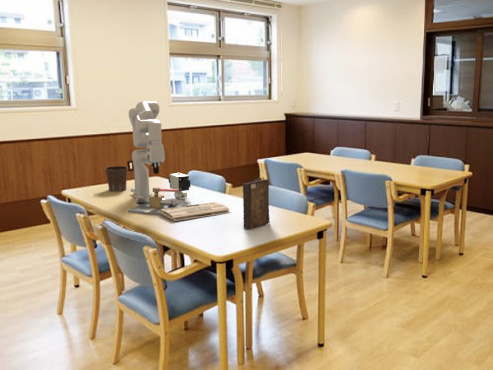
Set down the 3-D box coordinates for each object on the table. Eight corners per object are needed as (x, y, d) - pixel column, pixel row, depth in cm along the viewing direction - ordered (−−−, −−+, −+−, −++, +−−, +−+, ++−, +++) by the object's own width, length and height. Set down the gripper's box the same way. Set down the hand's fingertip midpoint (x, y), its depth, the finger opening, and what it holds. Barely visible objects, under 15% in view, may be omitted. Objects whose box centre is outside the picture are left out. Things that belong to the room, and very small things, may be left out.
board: (126, 212, 288) (126, 210, 288) (148, 203, 311) (148, 200, 311) (166, 216, 280) (165, 213, 279) (185, 206, 303) (185, 203, 302)
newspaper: (214, 205, 302) (214, 200, 302) (230, 212, 287) (231, 208, 286) (159, 212, 282) (159, 208, 281) (174, 221, 266) (174, 216, 266)
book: (248, 230, 251) (248, 183, 246) (239, 227, 256) (238, 181, 251) (270, 224, 262) (271, 178, 257) (261, 221, 267) (261, 177, 262)
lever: (151, 192, 292) (151, 188, 291) (154, 190, 296) (154, 187, 296) (177, 193, 289) (177, 189, 288) (179, 191, 293) (179, 188, 293)
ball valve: (192, 200, 319) (192, 173, 315) (181, 201, 314) (180, 174, 310) (179, 195, 333) (179, 169, 329) (168, 196, 328) (167, 171, 324)
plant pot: (125, 192, 343) (124, 169, 340) (103, 192, 343) (101, 169, 340) (131, 187, 359) (130, 166, 356) (109, 187, 359) (108, 166, 356)
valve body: (136, 206, 297) (135, 191, 295) (141, 204, 302) (140, 189, 300) (173, 209, 289) (172, 194, 287) (178, 207, 294) (177, 192, 292)
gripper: (148, 144, 274) (149, 176, 279) (169, 142, 285) (170, 172, 289) (140, 143, 279) (141, 174, 284) (161, 140, 290) (162, 170, 294)
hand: (156, 173), depth 286 cm, fingers closed
